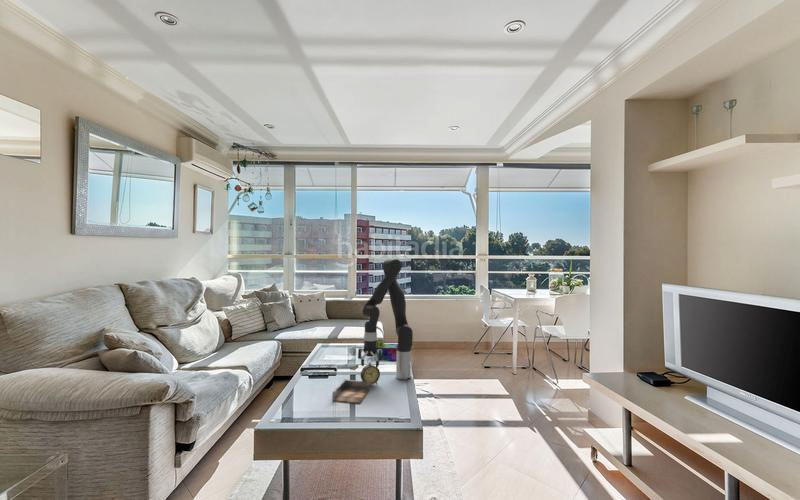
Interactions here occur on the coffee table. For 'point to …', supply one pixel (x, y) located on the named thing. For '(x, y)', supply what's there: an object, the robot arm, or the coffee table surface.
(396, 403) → the coffee table surface
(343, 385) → the corner walls
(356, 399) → the walnut plate
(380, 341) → the block puzzle
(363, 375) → the alarm clock
